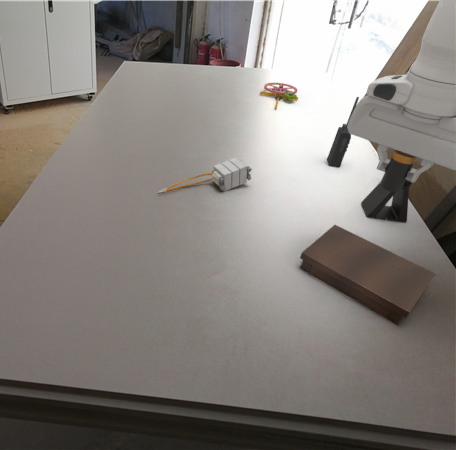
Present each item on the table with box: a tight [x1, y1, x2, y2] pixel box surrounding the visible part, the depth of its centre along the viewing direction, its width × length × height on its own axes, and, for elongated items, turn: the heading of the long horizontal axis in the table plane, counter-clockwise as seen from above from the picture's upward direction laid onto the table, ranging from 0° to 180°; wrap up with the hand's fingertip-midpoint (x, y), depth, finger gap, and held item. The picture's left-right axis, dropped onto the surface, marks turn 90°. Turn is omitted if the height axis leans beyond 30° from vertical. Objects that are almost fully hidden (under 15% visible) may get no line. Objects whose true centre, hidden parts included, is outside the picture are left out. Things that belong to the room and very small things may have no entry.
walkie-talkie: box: [326, 96, 360, 168], centre depth 112 cm, size 5×3×20 cm
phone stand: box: [360, 180, 413, 223], centre depth 94 cm, size 9×6×12 cm, turn 80°
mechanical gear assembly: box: [259, 82, 299, 110], centre depth 160 cm, size 30×4×15 cm
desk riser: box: [299, 224, 437, 325], centre depth 78 cm, size 20×14×4 cm
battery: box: [379, 149, 418, 192], centre depth 69 cm, size 3×3×7 cm
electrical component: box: [157, 157, 253, 194], centre depth 101 cm, size 24×6×5 cm, turn 115°
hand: (395, 174), depth 69 cm, fingers closed on battery, 3 cm apart
